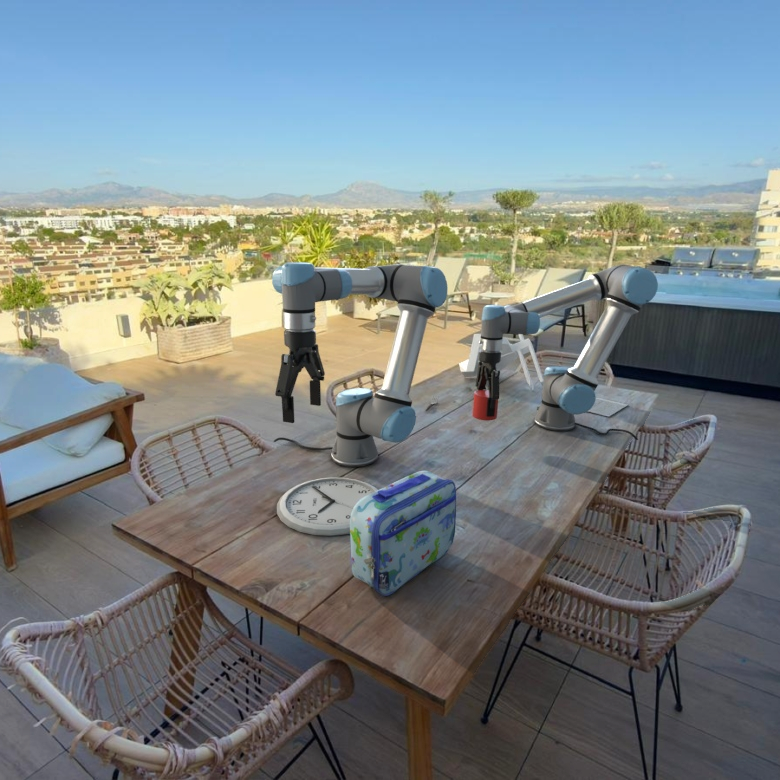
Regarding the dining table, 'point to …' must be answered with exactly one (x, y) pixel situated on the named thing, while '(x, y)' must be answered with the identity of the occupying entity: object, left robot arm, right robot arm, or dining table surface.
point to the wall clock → (322, 505)
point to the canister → (482, 405)
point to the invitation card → (606, 407)
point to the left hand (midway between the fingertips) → (302, 413)
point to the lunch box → (402, 530)
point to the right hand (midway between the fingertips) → (485, 411)
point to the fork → (432, 403)
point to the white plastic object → (503, 357)
